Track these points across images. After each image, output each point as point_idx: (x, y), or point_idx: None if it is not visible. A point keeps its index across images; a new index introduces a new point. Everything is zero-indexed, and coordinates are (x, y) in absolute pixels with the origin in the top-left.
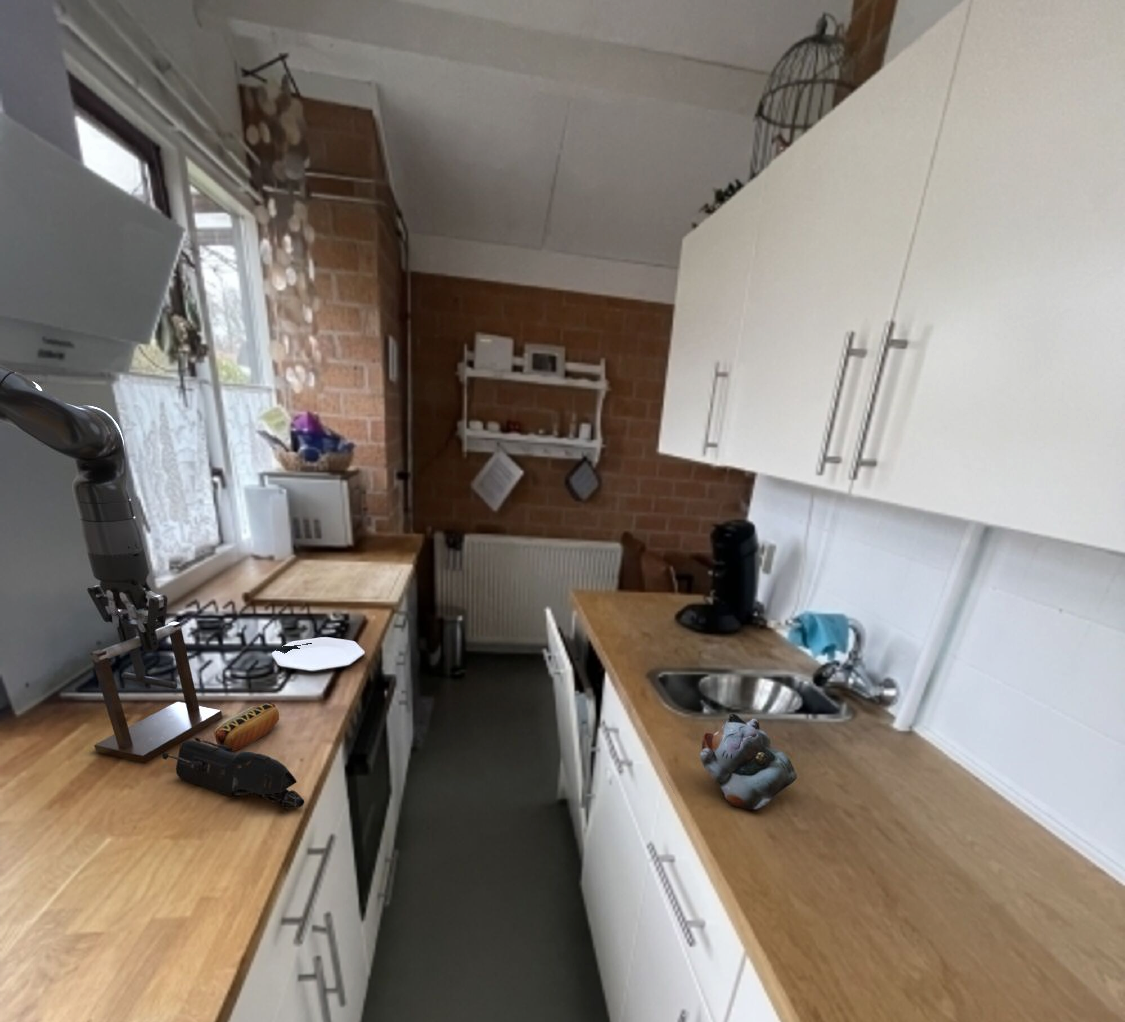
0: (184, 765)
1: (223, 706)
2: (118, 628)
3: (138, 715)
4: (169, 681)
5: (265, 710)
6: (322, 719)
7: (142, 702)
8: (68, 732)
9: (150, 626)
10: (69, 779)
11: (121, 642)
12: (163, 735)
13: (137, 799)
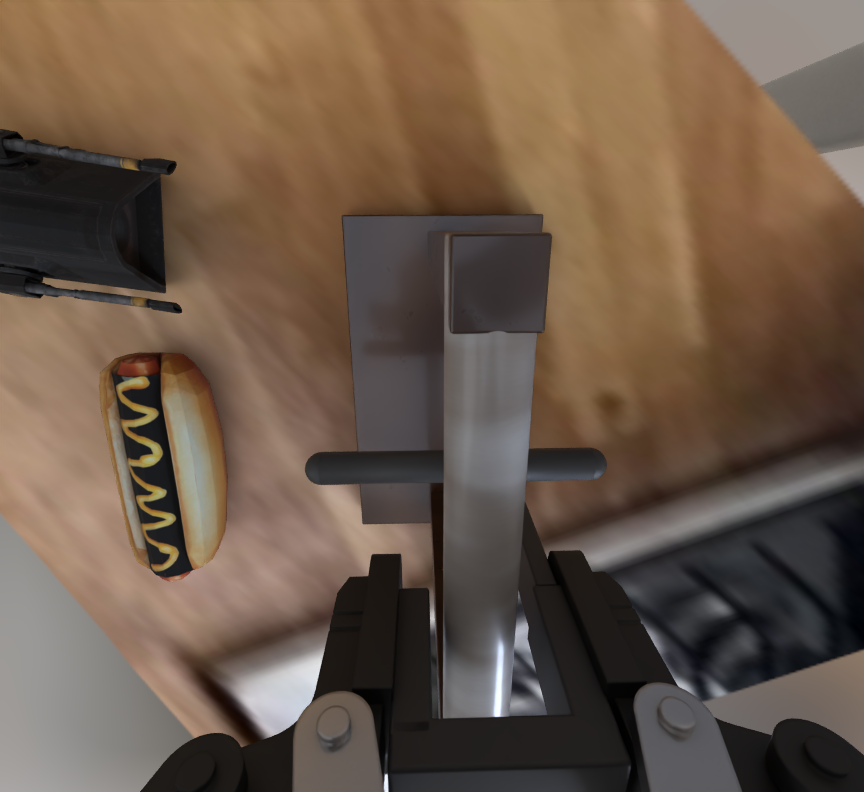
0: (103, 173)
1: (413, 557)
2: (639, 678)
3: (593, 437)
4: (338, 477)
5: (132, 534)
6: (115, 592)
7: (640, 499)
8: (711, 283)
9: (178, 784)
10: (479, 39)
11: (610, 580)
12: (391, 345)
13: (177, 18)
